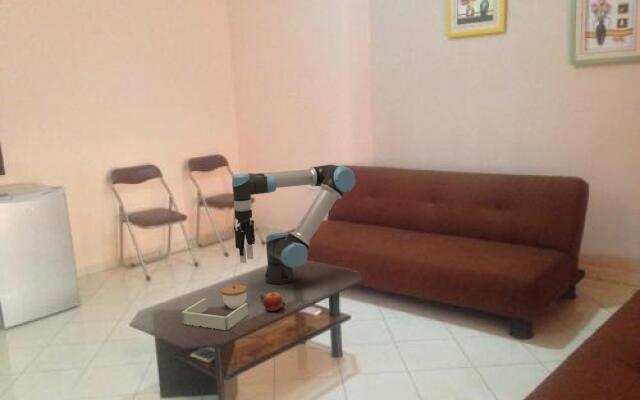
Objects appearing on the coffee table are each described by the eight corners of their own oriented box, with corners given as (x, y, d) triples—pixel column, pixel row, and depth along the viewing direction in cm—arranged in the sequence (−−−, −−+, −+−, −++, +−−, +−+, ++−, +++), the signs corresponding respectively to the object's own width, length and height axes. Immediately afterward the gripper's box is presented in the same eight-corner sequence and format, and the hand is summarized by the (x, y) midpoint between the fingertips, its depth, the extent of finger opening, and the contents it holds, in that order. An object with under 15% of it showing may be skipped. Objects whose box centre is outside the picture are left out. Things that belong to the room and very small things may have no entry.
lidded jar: (243, 311, 223) (241, 289, 222) (218, 310, 225) (217, 289, 224) (251, 301, 234) (249, 281, 232) (228, 301, 236) (226, 280, 234)
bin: (205, 309, 227) (204, 298, 226) (248, 314, 219) (247, 303, 218) (182, 324, 213) (181, 312, 212) (227, 330, 205) (226, 318, 204)
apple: (286, 309, 222) (285, 291, 221) (270, 314, 218) (269, 296, 216) (276, 304, 229) (275, 286, 227) (260, 309, 224) (259, 291, 223)
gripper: (246, 205, 243) (249, 254, 247) (224, 213, 226) (228, 266, 231) (260, 205, 240) (264, 255, 244) (239, 213, 224) (243, 267, 228)
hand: (246, 260), depth 237 cm, fingers open, 5 cm apart
